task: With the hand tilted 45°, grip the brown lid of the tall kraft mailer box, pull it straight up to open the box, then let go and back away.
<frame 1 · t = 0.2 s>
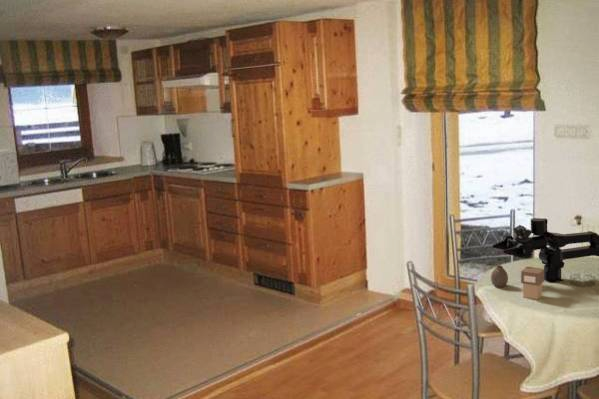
hand: (498, 249, 266), 17 cm above the table, tool horizontal, fingers open, 9 cm apart
lid: (532, 276, 254), point 8 cm above the table, slide at 0.0 cm
vase: (499, 286, 270), on the table
mailer box: (532, 296, 256), on the table
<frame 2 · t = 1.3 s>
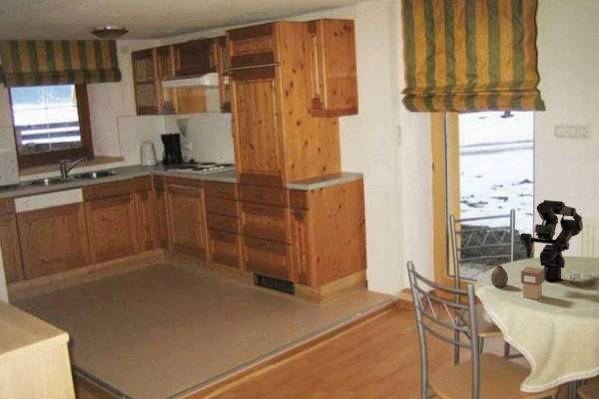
hand: (539, 258, 259), 14 cm above the table, tool tilted 45°, fingers open, 9 cm apart
nothing on the table moved.
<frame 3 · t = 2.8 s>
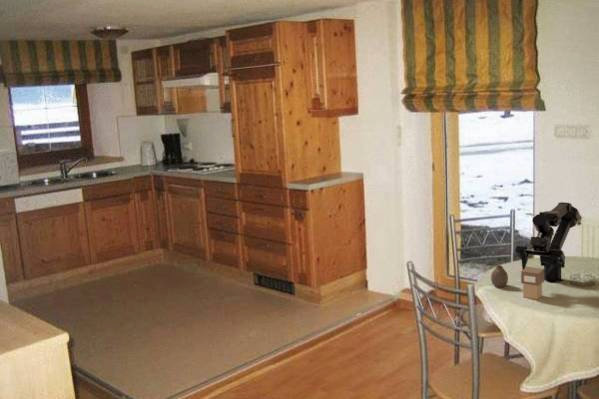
hand: (534, 271, 255), 10 cm above the table, tool tilted 45°, fingers open, 9 cm apart
nothing on the table moved.
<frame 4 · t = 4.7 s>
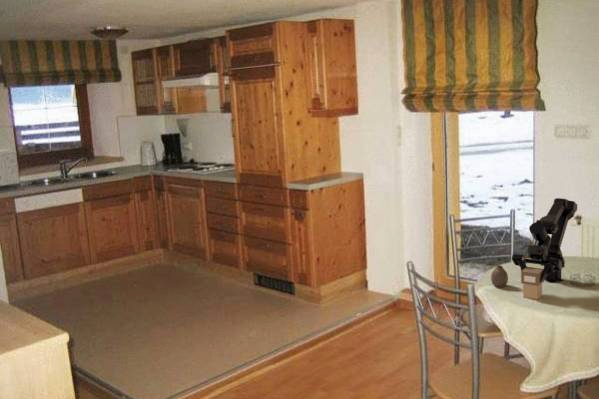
hand: (531, 280, 253), 7 cm above the table, tool tilted 45°, fingers closed on lid, 7 cm apart
lid: (532, 276, 254), point 8 cm above the table, slide at 0.0 cm, touching gripper
everything else where it was.
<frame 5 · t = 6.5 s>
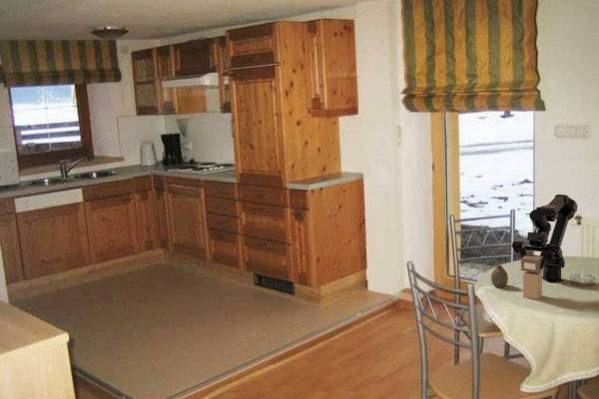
hand: (531, 267, 252), 12 cm above the table, tool tilted 45°, fingers closed on lid, 7 cm apart
lid: (532, 263, 253), point 14 cm above the table, slide at 5.3 cm, touching gripper
everything else where it was.
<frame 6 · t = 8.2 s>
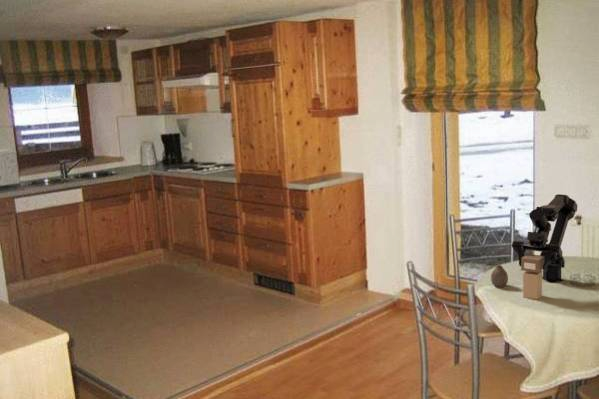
hand: (531, 267, 252), 13 cm above the table, tool tilted 45°, fingers open, 9 cm apart
lid: (532, 263, 253), point 14 cm above the table, slide at 5.4 cm
everything else where it was.
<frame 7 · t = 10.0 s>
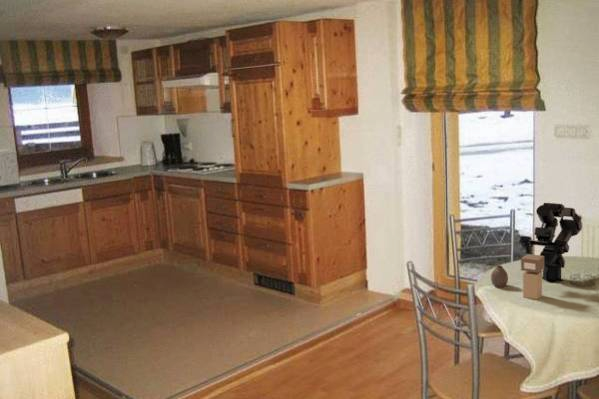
hand: (538, 261, 259), 13 cm above the table, tool tilted 45°, fingers open, 9 cm apart
nothing on the table moved.
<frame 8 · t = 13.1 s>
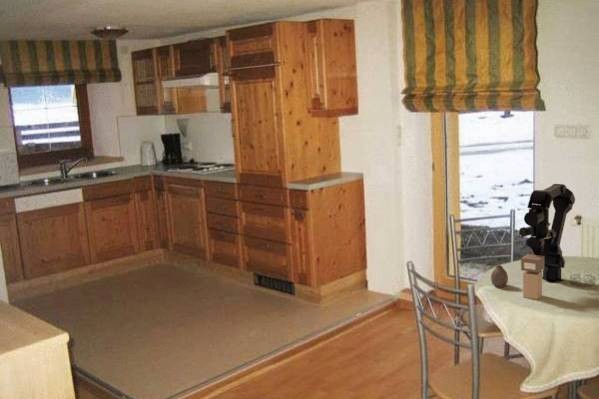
hand: (540, 257, 262), 13 cm above the table, tool pointing down, fingers open, 9 cm apart
nothing on the table moved.
at the end: lid slide at 5.4 cm; the gripper is holding nothing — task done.
